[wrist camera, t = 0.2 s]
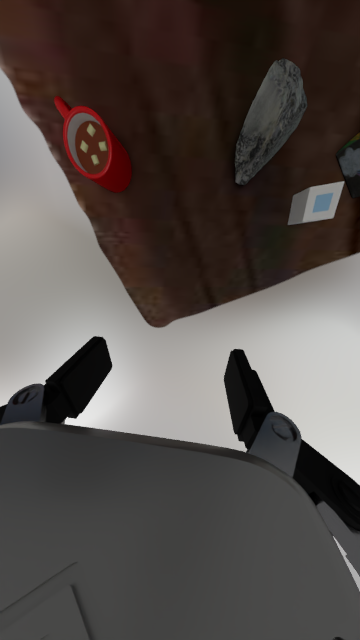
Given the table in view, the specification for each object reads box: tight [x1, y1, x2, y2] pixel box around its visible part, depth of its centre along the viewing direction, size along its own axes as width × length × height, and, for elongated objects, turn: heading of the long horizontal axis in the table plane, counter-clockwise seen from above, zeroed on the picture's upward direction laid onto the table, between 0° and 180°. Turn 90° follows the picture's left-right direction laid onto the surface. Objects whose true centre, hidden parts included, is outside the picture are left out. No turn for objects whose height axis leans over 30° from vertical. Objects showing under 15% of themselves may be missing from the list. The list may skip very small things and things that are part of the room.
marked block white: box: [288, 181, 344, 225], centre depth 27 cm, size 5×5×5 cm
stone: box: [235, 58, 307, 185], centre depth 23 cm, size 10×10×10 cm
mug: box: [54, 96, 132, 192], centre depth 25 cm, size 8×12×8 cm, turn 41°
